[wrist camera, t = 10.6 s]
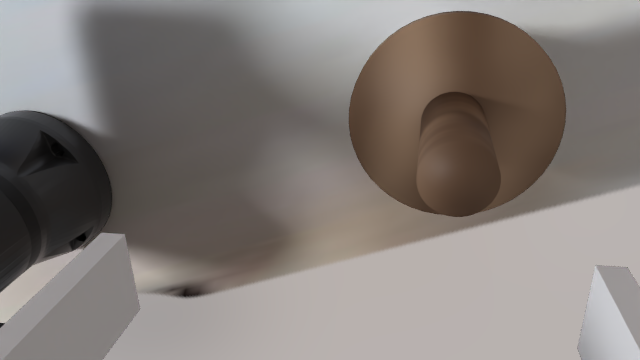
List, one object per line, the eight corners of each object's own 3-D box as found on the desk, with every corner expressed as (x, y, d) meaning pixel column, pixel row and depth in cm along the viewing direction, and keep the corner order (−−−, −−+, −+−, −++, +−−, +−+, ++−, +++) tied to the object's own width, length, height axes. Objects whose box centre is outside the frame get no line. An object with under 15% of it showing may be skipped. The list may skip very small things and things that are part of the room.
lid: (354, 204, 35) (330, 285, 27) (347, 14, 30) (315, 45, 22) (549, 211, 33) (585, 301, 25) (575, 7, 28) (632, 38, 20)
